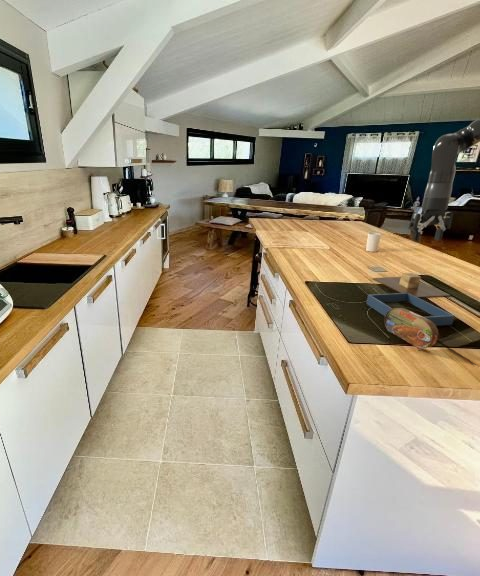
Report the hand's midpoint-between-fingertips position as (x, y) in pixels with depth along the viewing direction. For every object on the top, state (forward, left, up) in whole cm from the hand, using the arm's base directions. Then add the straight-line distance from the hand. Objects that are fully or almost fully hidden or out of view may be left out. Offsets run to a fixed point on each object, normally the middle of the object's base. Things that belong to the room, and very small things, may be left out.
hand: (426, 241), depth 117 cm
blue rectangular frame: (+19, +20, -20) cm, 34 cm away
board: (+1, -2, -20) cm, 20 cm away
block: (+1, -2, -19) cm, 19 cm away
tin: (+30, +35, -20) cm, 50 cm away
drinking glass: (+32, -39, -21) cm, 55 cm away
